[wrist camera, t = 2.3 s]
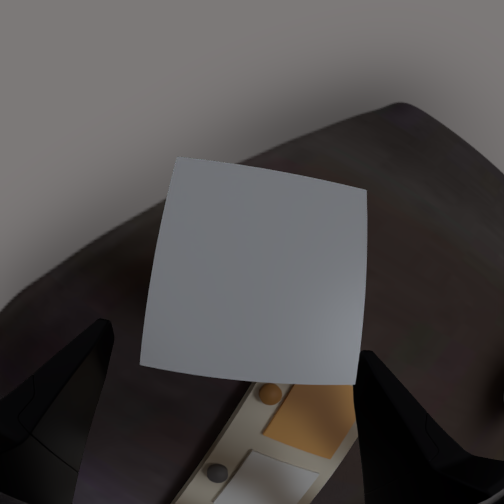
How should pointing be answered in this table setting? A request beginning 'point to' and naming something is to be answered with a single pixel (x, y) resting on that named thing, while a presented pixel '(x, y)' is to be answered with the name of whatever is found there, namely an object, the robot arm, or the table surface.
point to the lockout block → (257, 276)
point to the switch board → (276, 446)
